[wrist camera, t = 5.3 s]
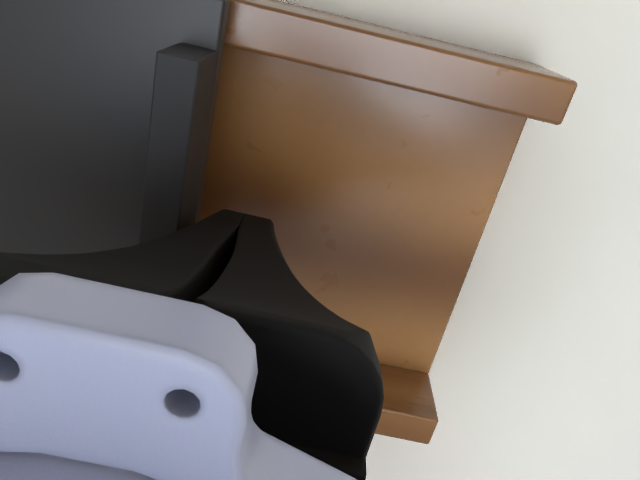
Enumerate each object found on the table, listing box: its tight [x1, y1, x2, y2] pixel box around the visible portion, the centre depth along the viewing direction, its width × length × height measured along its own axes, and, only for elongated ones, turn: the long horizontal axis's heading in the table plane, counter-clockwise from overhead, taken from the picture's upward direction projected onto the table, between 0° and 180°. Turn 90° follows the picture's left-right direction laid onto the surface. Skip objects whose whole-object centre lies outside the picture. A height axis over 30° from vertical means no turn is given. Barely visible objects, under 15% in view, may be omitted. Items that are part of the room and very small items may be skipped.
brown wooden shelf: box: [199, 0, 577, 444], centre depth 15 cm, size 11×22×3 cm, turn 77°
